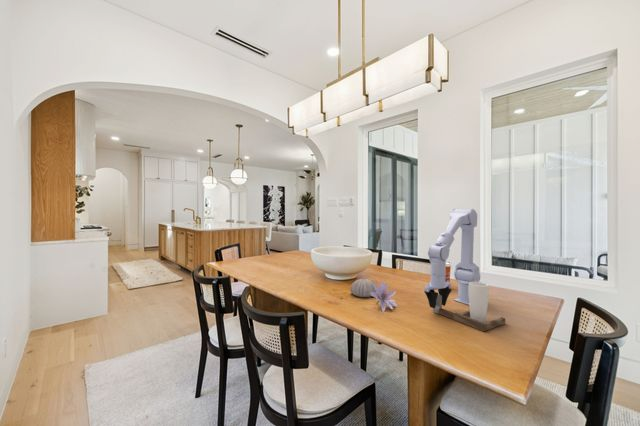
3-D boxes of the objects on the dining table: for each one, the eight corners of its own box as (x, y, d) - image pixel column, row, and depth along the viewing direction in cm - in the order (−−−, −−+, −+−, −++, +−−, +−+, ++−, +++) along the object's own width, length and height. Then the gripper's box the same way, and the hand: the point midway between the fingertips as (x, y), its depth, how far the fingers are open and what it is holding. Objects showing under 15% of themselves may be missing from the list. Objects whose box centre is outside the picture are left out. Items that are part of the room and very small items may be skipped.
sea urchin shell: (355, 299, 130) (356, 283, 130) (346, 291, 143) (346, 276, 143) (381, 298, 133) (381, 281, 133) (369, 290, 146) (370, 275, 146)
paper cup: (444, 290, 146) (445, 264, 146) (432, 286, 153) (433, 262, 152) (454, 288, 149) (454, 263, 149) (442, 285, 156) (442, 260, 156)
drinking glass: (491, 327, 101) (492, 286, 100) (471, 325, 102) (472, 285, 102) (484, 319, 107) (484, 282, 107) (465, 318, 109) (466, 281, 108)
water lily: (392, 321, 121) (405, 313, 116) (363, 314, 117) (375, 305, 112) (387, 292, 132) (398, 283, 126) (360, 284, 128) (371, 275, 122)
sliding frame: (454, 305, 122) (454, 290, 122) (506, 323, 103) (506, 305, 103) (431, 311, 115) (431, 295, 115) (482, 332, 96) (483, 312, 96)
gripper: (441, 270, 121) (440, 300, 121) (418, 273, 114) (417, 306, 114) (455, 273, 115) (455, 305, 115) (432, 277, 108) (431, 311, 108)
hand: (437, 306), depth 114 cm, fingers open, 6 cm apart
